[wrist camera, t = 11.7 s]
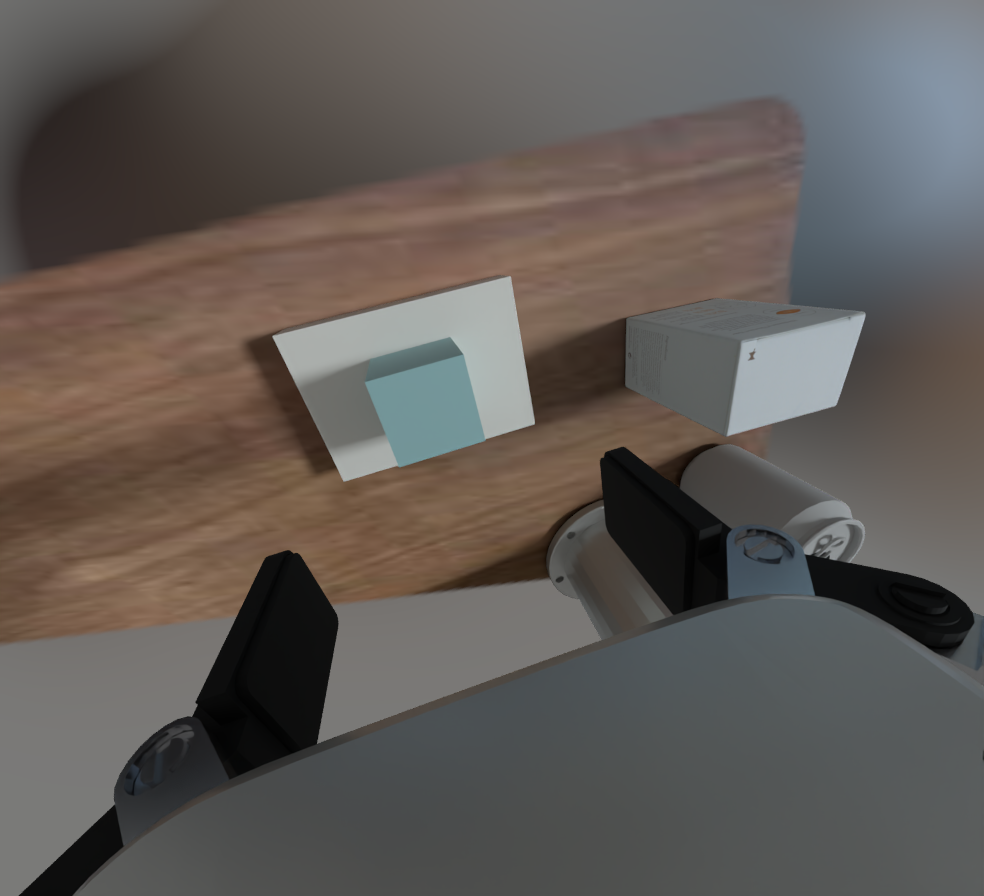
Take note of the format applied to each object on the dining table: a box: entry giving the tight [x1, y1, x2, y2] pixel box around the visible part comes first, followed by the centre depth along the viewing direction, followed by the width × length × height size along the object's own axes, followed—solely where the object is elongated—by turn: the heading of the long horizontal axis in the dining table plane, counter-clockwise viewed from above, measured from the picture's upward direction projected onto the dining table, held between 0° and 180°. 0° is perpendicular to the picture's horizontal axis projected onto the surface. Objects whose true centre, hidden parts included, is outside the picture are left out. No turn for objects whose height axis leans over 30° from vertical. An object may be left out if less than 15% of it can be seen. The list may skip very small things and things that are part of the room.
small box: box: [625, 298, 865, 437], centre depth 25 cm, size 8×6×10 cm
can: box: [680, 444, 865, 563], centre depth 31 cm, size 8×8×12 cm
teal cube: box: [365, 337, 486, 467], centre depth 21 cm, size 5×5×5 cm
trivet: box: [272, 275, 535, 482], centre depth 25 cm, size 14×10×2 cm
